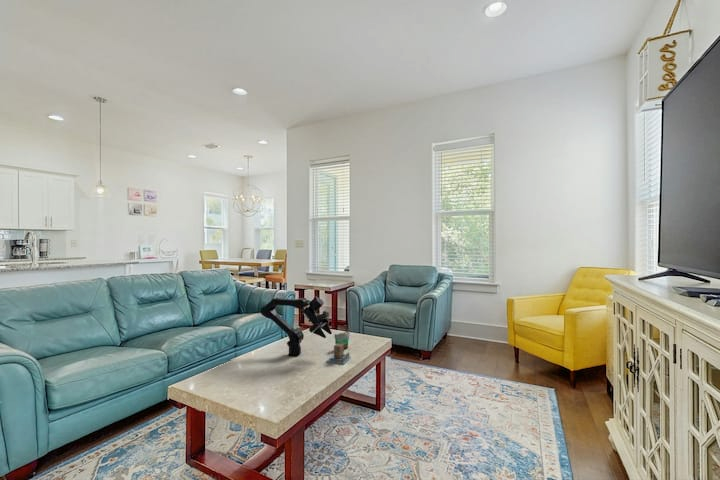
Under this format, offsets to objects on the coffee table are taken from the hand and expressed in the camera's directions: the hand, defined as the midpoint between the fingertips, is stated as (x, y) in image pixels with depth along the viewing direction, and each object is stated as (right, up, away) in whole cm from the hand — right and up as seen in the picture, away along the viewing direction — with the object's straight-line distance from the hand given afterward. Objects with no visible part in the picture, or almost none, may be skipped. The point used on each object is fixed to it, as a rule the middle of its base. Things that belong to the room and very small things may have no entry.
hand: (328, 335), depth 196 cm
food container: (+8, -14, +19) cm, 25 cm away
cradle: (+6, -14, -2) cm, 15 cm away
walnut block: (+6, -13, -2) cm, 14 cm away
